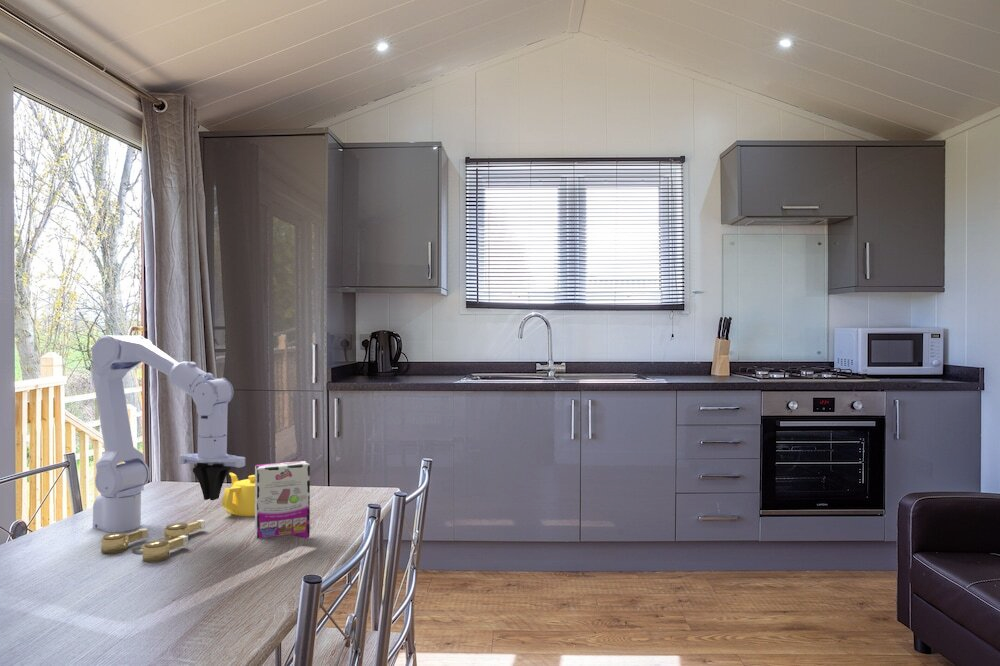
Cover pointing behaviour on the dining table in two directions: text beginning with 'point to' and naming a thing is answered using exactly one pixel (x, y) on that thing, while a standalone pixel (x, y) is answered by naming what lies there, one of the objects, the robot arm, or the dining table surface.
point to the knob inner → (120, 540)
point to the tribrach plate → (138, 549)
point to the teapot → (240, 496)
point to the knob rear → (182, 529)
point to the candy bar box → (282, 499)
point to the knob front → (161, 548)
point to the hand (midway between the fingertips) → (211, 498)
